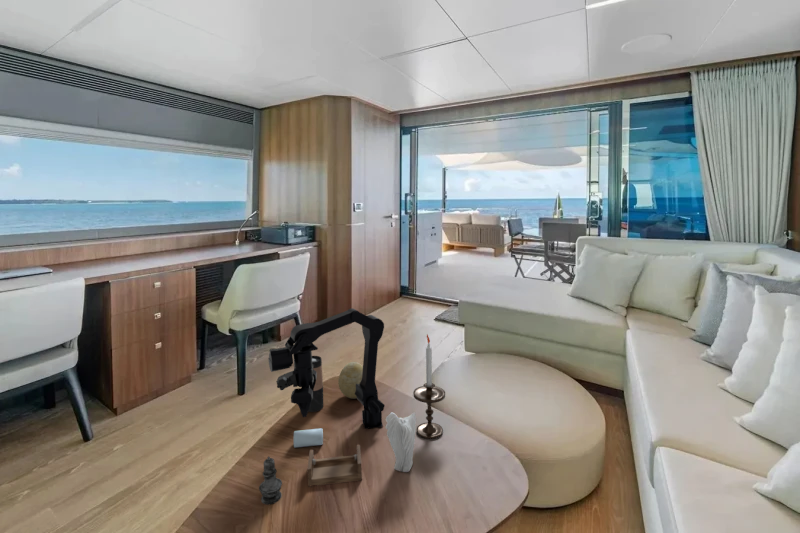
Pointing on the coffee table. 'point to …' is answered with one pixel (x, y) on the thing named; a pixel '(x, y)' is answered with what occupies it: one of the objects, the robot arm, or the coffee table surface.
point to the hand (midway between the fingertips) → (306, 409)
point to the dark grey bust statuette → (270, 483)
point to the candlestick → (429, 400)
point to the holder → (334, 469)
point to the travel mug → (317, 386)
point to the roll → (308, 437)
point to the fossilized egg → (350, 379)
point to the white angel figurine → (402, 439)
